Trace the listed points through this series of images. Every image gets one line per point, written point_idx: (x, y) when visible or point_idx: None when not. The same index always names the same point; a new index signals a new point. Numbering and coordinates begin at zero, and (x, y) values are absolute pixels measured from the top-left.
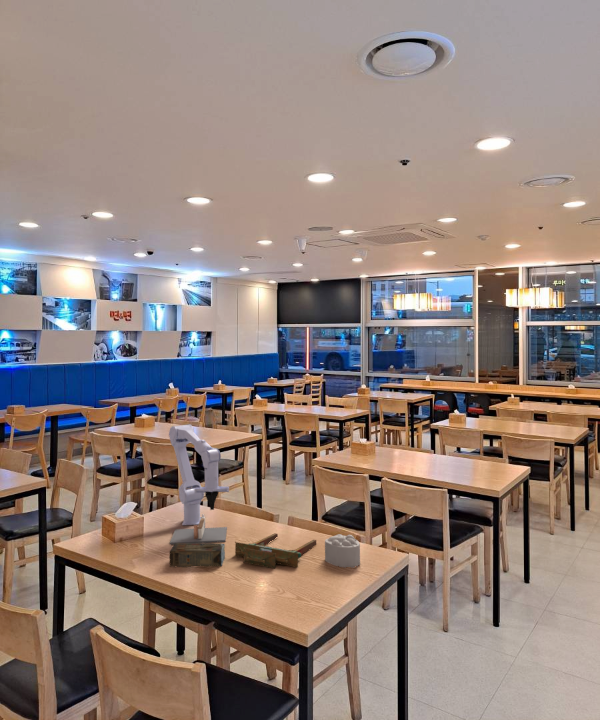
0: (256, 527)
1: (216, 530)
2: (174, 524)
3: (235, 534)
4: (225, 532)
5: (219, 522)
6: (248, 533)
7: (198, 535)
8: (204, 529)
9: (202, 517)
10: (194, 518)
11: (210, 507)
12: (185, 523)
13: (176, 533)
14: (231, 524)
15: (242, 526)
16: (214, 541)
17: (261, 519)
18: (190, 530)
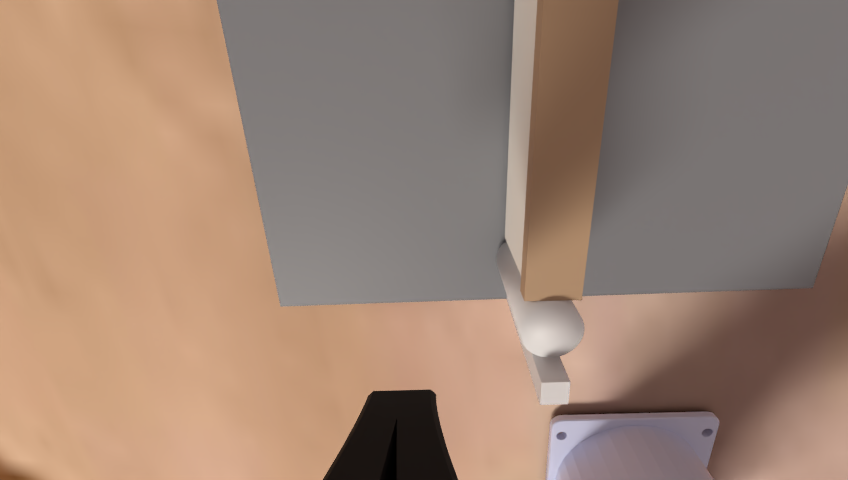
0: (13, 307)
1: (370, 214)
2: (776, 442)
3: (152, 124)
4: (254, 138)
5: None
6: (20, 143)
7: None
8: None
9: (558, 322)
10: (624, 469)
11: (431, 421)
12: (688, 434)
13: (821, 157)
14: (273, 398)
15: (157, 343)
16: None
17: (54, 476)
18: (654, 241)
